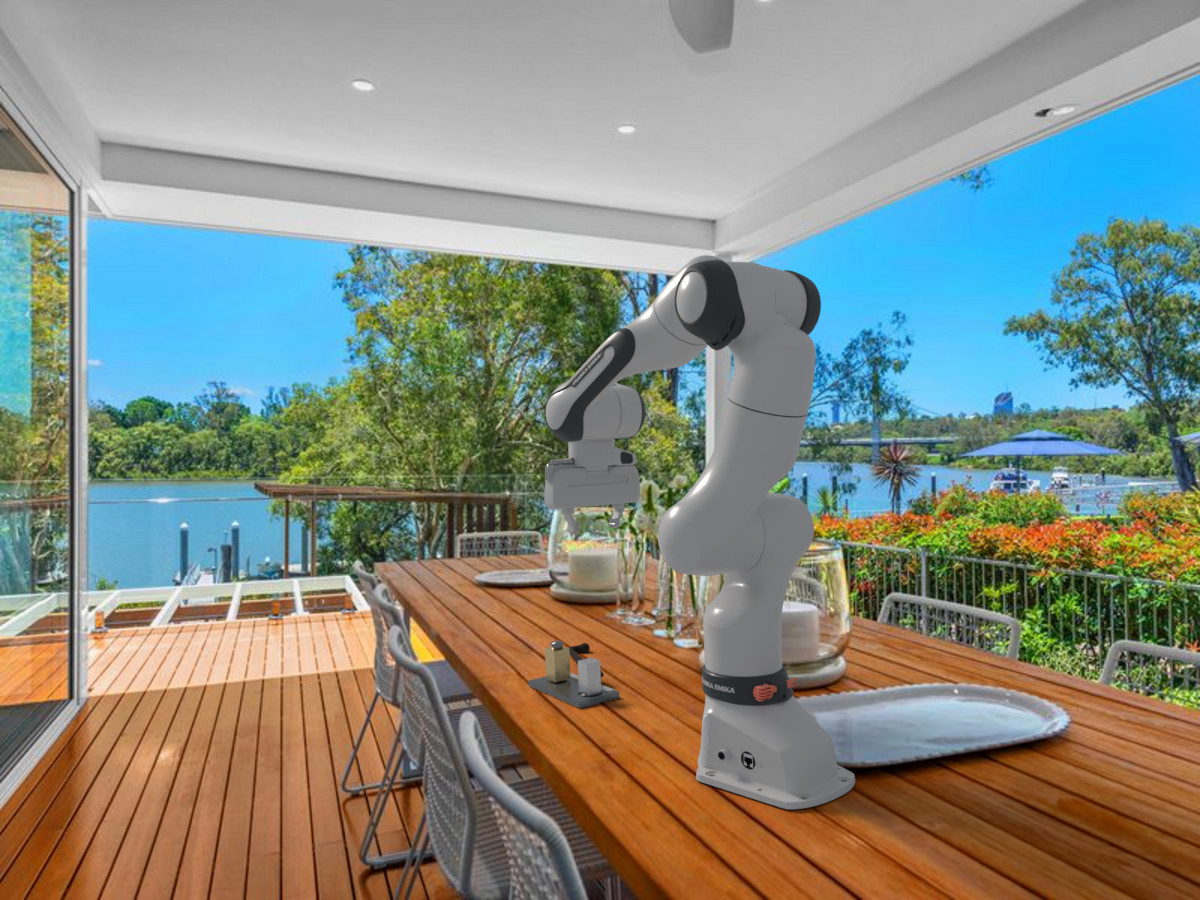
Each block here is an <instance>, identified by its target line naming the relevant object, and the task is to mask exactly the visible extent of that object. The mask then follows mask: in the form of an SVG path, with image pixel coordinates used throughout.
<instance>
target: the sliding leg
mask: <svg viewBox="0 0 1200 900" xmlns="http://www.w3.org/2000/svg"><path fill="white" fill-rule="evenodd" d="M570 658H571V656H570V653H569V647H566V646H564V641H562V640H553V641H551V642H550V646H549V647H545V648H544V659H545V660H544V661H545V662H544V663H545V677H546V679H549V680H551V681H553V682H559V681H563V680H567V679H571V677H570V673H571V662H570V661H571V659H570Z"/></svg>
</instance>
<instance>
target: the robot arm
mask: <svg viewBox="0 0 1200 900" xmlns="http://www.w3.org/2000/svg"><path fill="white" fill-rule="evenodd" d="M821 310H822V301H821V295H820V291H819V289H818V286H817V285H816V284H815V283H814V281H813V280H811V279H810V278H808V277H807V276H805V275H803V274H801V273H799V272H796V271H794V270H788V269H784V270H782V269H779V268H775V267H771V266H766V265H762V264H759V263H757V262H749V261H748V262H747V261H725V260H724V259H721V258H720V257H716V256H713V255H709V254H708V255H706V254H704V255H698V256H695V257H694V258H692V259H689V261H687V263H686V264H685V265H683V266H682V267H681V268H680V269H679V270H678V271H677V272H676V273H675V274H674V275H673V276H672V277H671V278H670V279H669V281H668V282H667V283H666V285H665V286H664V287H663V288H662V289H661V291H660V292H659V294H658V295H657V296H656V297H655V299H654V300H653V302H651V303H650V305H649V306H648V307H647V308H646V309H645V310H644V311H643V312H642V313H641V314H640V315H639V316H637V317H636V318H635V319H634V320H632V321H631V322H630V323H628V324H626V325H625V326H624V327H622V328H620V329H619V330H617V331H616V332H613V334H611V335H610V336H609V337H608V338H606V339H605V341H604V342H602V343H601V344H600V346H599V347H598V348H597V349H596V350H595V351H594V352H593V353H592V354H591V355H590V357H588V358H587V359H586V361H584V363H583V364H582V365H581V366H580V368H578V369H577V371H576V372H575V373H574V374H573V375H572V376H571V377H570V378H569V379H568V380H567V381H565V382H563V383H560V384H559V385H558V386H557V387H556V388H555V389H554V390H553V391H552V393H551V394H550V396H548V399H547V400H546V403H545V409H544V420H545V423H546V426H547V428H548V429H549V431H550V432H551V433H552V434H553V435H554V436H555V437H557V438H558V439H559V440H560V441H562V442H563V443H568V444H567V446H568V458H562V459H559V458H554V459H553V458H552V460H550V462H548V463H547V464H546V466H545V469H544V475H545V477H544V478H545V484H544V494H543V495H544V498H543V499H544V500H543V501H544V505H545V506H546V508H547V509H548V510H561V513H562V516H563V518H564V519H565V521H566V523H567V528H568V529H567V530H568V532H569V533H579V532H580V531H581V528H580V526H581V525H580V523H581V522H580V521H579V522H576V519H575V517H574V516H573V515H574V514H575V509H576V508H587V507H596V506H607V505H612V509H613V510H614V511H613V514H612V516H611V517H609V518H608V522H609V523H608V526H609V528H611V529H612V528H613V529H614V528H615V529H616V528H620V527H621V518H622V516H623V513H624V512H625V504H629V503H630V504H631V503H637V502H638V501H639V499H640V496H641V484H640V476H639V475H640V474H639V471H638V469H637V467H635V465H637V461H638V459H637V458H638V457H637V454H636V453H634V452H631V451H628V450H625V449H623V448H619V447H618V446H615V439H626V438H630V437H634V436H636V435H637V434H638V433H639V432H640V431H641V429H642V428H643V426H644V424H645V421H646V415H647V414H646V405H645V401H644V399H643V397H642V395H641V393H640V392H639V391H638V390H637V389H636V388H635V387H631V386H627V385H623V384H620V383H618V382H619V381H621V380H623V379H626V378H627V377H631V376H633V375H637V374H643V373H648V372H656V371H663V370H669V369H670V370H671V369H676V368H681V367H683V366H685V365H687V364H688V363H690V362H692V361H693V360H695V358H697V357H698V356H700V355H701V354H702V353H703V352H704V350H705V349H706V348H707V347H709V348H711V349H712V350H714V351H715V352H716V351H720V350H722V349H724V348H726V347H728V348H729V350H730V352H731V354H732V356H733V364H734V365H733V373H732V378H731V381H730V384H729V389H728V394H727V398H726V402H725V406H724V412H723V417H722V420H721V425H720V428H719V431H718V435H717V440H716V444H715V445H714V449H713V452H712V454H711V456H710V457H709V460H708V463H706V466H705V468H704V469H703V471H702V473H701V474H700V475H699V477H698V479H697V480H696V481H695V483H694V485H692V487H691V488H690V489H689V491H688V492H687V493H686V494H685V495H684V496H683V497H682V498H681V499H679V501H678V502H676V503H675V504H674V505H672V506H671V507H670V508H668V509H667V510H666V511H665V513H663V515H662V518H661V519H660V523H659V525H658V531H657V543H658V548H659V551H660V554H661V555H662V557H663V560H664V561H665V563H666V564H667V566H668V567H670V568H671V569H672V570H673V571H674V572H676V573H679V574H681V575H682V574H683V575H689V576H699V577H701V576H703V577H710V576H711V577H712V576H719V575H724V574H725V575H726V577H725V579H724V582H723V585H722V587H721V589H720V591H719V593H718V594H717V595H716V596H715V597H714V598H713V599H712V601H711V602H709V603H708V605H707V607H706V609H705V610H704V613H703V619H702V624H703V627H702V628H703V650H704V652H703V653H704V664H703V665H702V666H701V667H702V670H701V672H702V674H701V682H702V691H703V693H704V694H705V697H704V698H705V699H704V700H705V701H704V709H703V714H702V724H701V735H700V736H701V737H700V738H701V739H700V740H701V741H700V749H699V754H698V758H697V766H698V767H697V769H696V776H695V778H696V780H697V781H698V782H700V783H703V784H707V785H709V786H711V787H712V786H713V787H716V788H719V789H722V790H725V791H728V792H731V793H734V794H737V795H740V796H743V797H746V798H749V799H753V800H756V801H758V802H761V803H766V804H768V805H771V806H775V807H778V808H781V809H784V810H800V809H808V808H812V807H816V806H820V805H823V804H826V803H829V802H831V801H833V800H835V799H838V798H840V797H841V796H844V795H846V794H847V793H848V792H850V791H851V790H852V789H853V788H854V786H855V784H856V776H855V773H853V772H852V771H850V770H848V769H846V768H844V767H843V766H841V765H839V764H838V763H837V757H836V751H835V746H834V743H833V740H832V738H831V735H830V733H829V732H828V731H827V730H825V728H824V727H823V726H822V725H821V724H820V723H819V722H818V721H817V720H816V719H815V718H814V717H813V716H812V715H811V714H810V713H809V711H807V710H806V708H805V707H804V706H803V705H802V703H800V702H799V701H798V699H797V698H796V697H795V696H794V690H793V688H794V687H796V686H799V683H795V682H797V681H798V680H799V677H793V678H790V677H789V674H788V673H787V669H786V667H785V665H784V664H783V651H782V647H783V646H782V645H783V644H782V643H783V641H782V620H783V619H782V618H783V617H782V616H783V609H784V607H783V606H784V602H785V598H786V594H787V590H788V587H789V583H790V581H791V577H792V575H793V573H794V570H795V569H796V566H797V565H798V563H799V561H800V560H801V558H802V557H803V556H804V555H805V554H806V552H807V551H808V550H809V548H810V547H811V546H812V543H813V540H814V535H815V526H814V524H815V523H814V519H813V516H812V513H811V512H810V511H811V510H809V508H808V507H807V505H806V503H804V501H802V500H801V499H799V498H798V497H795V496H793V495H788V494H783V493H777V492H770V491H771V490H772V488H773V487H774V486H775V485H776V484H777V483H778V482H780V481H781V480H782V479H783V478H785V477H786V476H787V475H788V474H789V473H790V472H791V471H792V470H793V468H794V466H795V464H796V462H797V457H798V453H799V449H800V446H801V441H802V439H803V435H804V429H805V427H806V422H807V417H808V414H809V410H810V405H811V400H812V394H813V388H814V380H815V372H816V371H815V370H816V346H815V343H814V341H813V339H812V338H811V336H809V335H810V334H812V332H813V331H814V330H815V328H816V326H817V324H818V321H819V319H820V315H821Z"/></svg>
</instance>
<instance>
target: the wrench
mask: <svg viewBox="0 0 1200 900" xmlns="http://www.w3.org/2000/svg"><path fill="white" fill-rule="evenodd" d="M568 648H569V653H570V655H571V656H570V658H572V659H573V661H574V662H575V663H576V664H577V665H578V661H579V660H583V659H584V657H582V656H581V655H580V653H576V652H583V653H582V654H585V653H584V652H588V653H589V651H590V650H591V649H590V648H591V647H590V645H589V644H588V643H587V642H584V643H581V644H578V645H574V646H570V647H568ZM604 676H605V674H604V673H603V671H602V670H601V678H603V677H604Z"/></svg>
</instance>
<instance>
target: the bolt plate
mask: <svg viewBox="0 0 1200 900" xmlns="http://www.w3.org/2000/svg"><path fill="white" fill-rule="evenodd" d="M601 671H602V670H601V660H599V659H596V658H593V657H587V658H583V660H579V661H578V664H577V674H578V675H577V674H575V673H573V672H570V677H571V679H567V680H563V681H559V682H553V681H551V680H549V679H546V676H541V677H537V678H534V679H529V680H528V687H529V686H531V687H533V688H535V689H534V690H536V689H537V690H536V691H538V690H540V691H542V692H545V693H547V694H550V695H552V696H554V697H556V698H558V699H560V700H559V701H561V700H563V701H565V702H567V703H569V704H568V705H570V704H571V706H572V705H573V706H572V707H574V706H575V708H576V707H578V708H577V709H579V708H580V709H583V708H587V707H590V706H594V705H595V706H596V705H599V704H602V703H601V702H603V703H606V702H610V701H613V699H614V700H617V699H620V691H619V690H616V689H614V688H611V687H609V686H606V685H604V684H602V679H601V678H602V677H601ZM531 687H530V688H531ZM533 688H532V689H533ZM540 691H539V692H540ZM542 692H541V693H542ZM545 693H544V694H545ZM547 694H546V695H547ZM554 697H553V698H554ZM556 698H555V699H556ZM558 699H557V700H558ZM609 700H610V701H609ZM563 701H562V702H563ZM605 701H606V702H605ZM565 702H564V703H565ZM567 703H566V704H567ZM598 703H599V704H598Z"/></svg>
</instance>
